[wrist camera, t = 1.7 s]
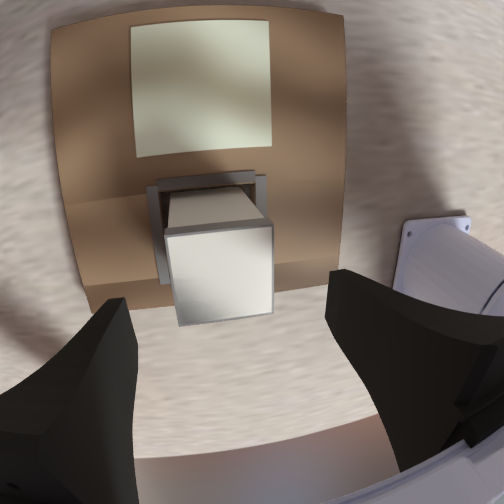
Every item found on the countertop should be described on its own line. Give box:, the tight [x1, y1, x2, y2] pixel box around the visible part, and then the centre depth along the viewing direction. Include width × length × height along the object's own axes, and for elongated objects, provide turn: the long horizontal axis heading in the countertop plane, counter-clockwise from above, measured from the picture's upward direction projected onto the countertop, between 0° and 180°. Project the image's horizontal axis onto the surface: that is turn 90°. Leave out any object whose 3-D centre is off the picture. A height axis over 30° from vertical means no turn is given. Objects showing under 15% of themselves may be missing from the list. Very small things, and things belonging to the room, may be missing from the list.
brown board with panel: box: [51, 5, 346, 314], centre depth 17 cm, size 17×16×2 cm
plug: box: [164, 187, 274, 327], centre depth 16 cm, size 4×4×7 cm
